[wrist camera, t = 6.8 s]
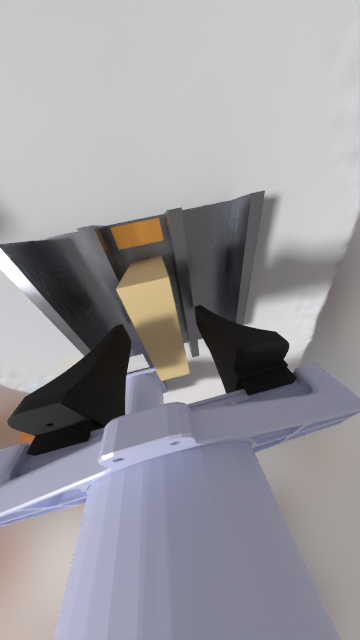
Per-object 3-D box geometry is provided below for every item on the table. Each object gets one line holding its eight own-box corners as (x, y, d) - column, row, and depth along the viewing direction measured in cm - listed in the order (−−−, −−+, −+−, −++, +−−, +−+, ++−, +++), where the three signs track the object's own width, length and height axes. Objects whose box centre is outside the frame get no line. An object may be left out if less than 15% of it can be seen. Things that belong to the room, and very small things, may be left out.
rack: (226, 327, 22) (239, 344, 19) (113, 356, 21) (107, 379, 18) (235, 200, 12) (264, 190, 9) (28, 242, 11) (-20, 248, 8)
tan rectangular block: (178, 330, 19) (189, 373, 13) (158, 335, 19) (161, 381, 13) (161, 255, 13) (168, 277, 7) (131, 262, 13) (115, 289, 7)
